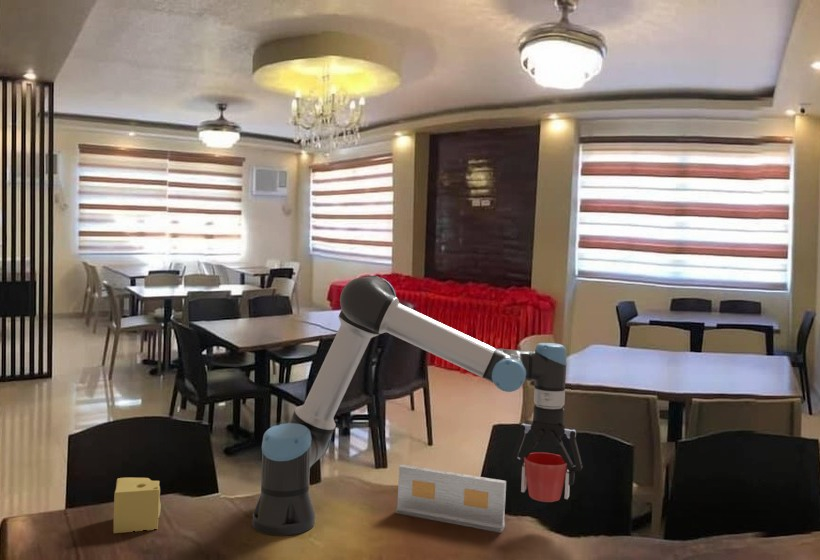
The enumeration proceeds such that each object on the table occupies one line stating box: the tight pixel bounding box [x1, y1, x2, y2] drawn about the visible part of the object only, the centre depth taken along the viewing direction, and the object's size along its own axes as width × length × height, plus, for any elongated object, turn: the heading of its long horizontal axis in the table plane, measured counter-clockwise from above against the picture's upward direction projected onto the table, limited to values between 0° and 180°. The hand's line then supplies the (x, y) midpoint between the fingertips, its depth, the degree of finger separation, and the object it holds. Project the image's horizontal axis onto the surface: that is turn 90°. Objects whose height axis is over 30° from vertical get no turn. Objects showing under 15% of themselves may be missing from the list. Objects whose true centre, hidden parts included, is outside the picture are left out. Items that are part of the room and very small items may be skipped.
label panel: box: [395, 464, 507, 533], centre depth 173 cm, size 28×4×12 cm, turn 69°
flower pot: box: [524, 451, 568, 503], centre depth 169 cm, size 11×11×10 cm
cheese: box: [113, 477, 162, 534], centre depth 163 cm, size 10×11×10 cm
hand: (545, 493), depth 169 cm, fingers closed on flower pot, 10 cm apart
